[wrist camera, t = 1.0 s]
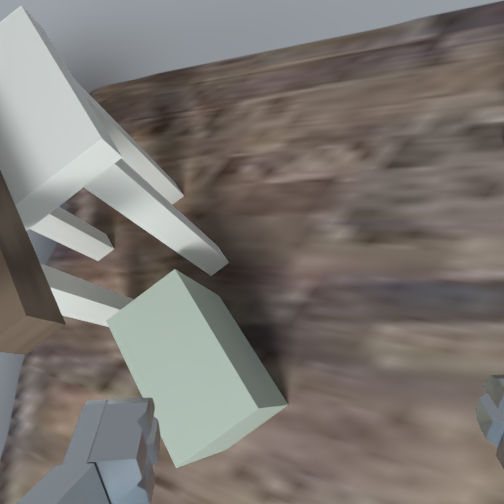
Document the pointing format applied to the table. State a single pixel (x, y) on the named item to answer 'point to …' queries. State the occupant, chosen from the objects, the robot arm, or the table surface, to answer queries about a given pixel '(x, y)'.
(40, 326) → the wooden board
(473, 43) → the table surface
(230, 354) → the pale green cuboid block
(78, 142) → the stool
